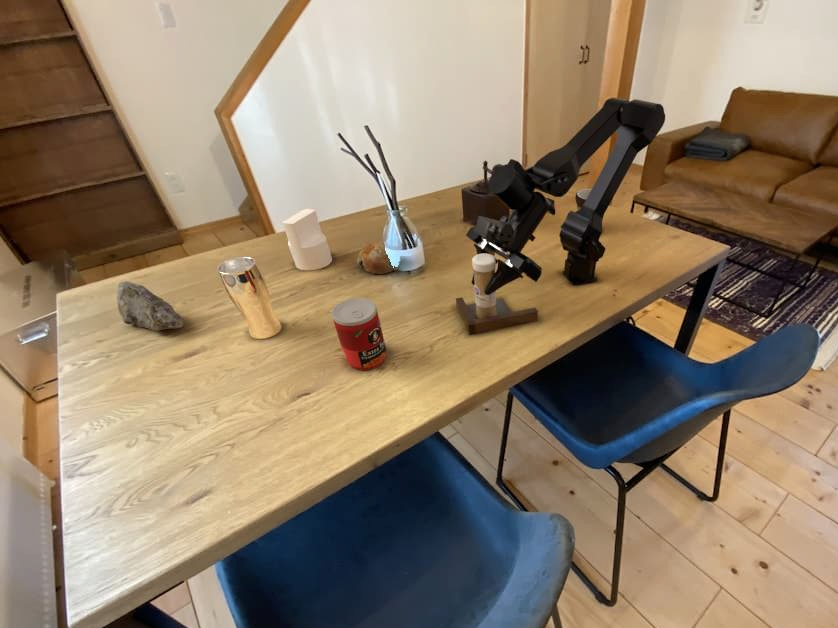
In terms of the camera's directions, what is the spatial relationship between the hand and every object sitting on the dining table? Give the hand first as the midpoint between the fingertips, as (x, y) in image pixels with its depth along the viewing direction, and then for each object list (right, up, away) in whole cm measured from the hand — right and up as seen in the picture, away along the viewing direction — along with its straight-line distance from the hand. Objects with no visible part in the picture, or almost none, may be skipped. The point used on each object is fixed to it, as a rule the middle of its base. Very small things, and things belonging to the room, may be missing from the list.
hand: (479, 289), depth 88 cm
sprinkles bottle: (+1, -5, +5) cm, 7 cm away
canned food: (-21, -14, -4) cm, 26 cm away
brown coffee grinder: (+2, +28, +42) cm, 51 cm away
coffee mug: (+30, +25, +39) cm, 55 cm away
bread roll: (-26, +10, +23) cm, 36 cm away
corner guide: (+3, -4, +6) cm, 8 cm away
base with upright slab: (-44, +12, +25) cm, 52 cm away
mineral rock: (-68, -7, +4) cm, 69 cm away
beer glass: (-44, -8, +3) cm, 45 cm away
